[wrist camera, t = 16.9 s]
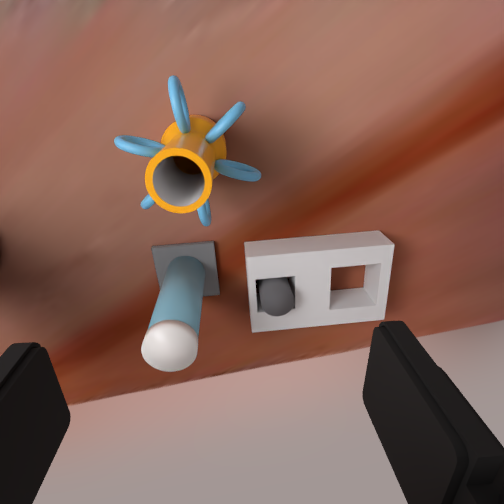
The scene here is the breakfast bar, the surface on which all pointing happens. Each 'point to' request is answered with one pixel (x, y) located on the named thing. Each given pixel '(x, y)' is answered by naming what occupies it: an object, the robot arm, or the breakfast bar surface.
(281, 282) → the plunger
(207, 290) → the mat
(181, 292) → the cartridge
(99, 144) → the breakfast bar surface
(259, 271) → the housing
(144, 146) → the cylinder
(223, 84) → the breakfast bar surface
